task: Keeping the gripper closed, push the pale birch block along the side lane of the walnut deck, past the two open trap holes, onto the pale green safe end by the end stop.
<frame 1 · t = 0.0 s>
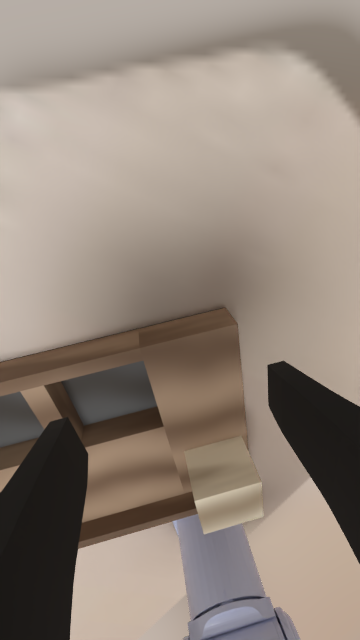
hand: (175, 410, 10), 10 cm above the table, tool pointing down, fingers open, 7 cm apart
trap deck: (79, 437, 23), on the table
birch block: (216, 461, 24), point 2 cm above the table, touching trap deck
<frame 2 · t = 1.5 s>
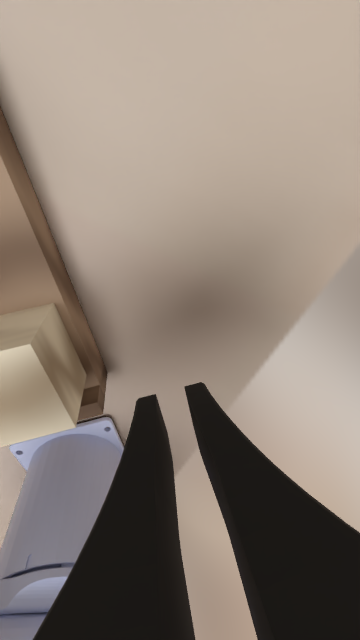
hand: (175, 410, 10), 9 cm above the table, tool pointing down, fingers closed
birch block: (27, 352, 15), point 2 cm above the table, touching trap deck
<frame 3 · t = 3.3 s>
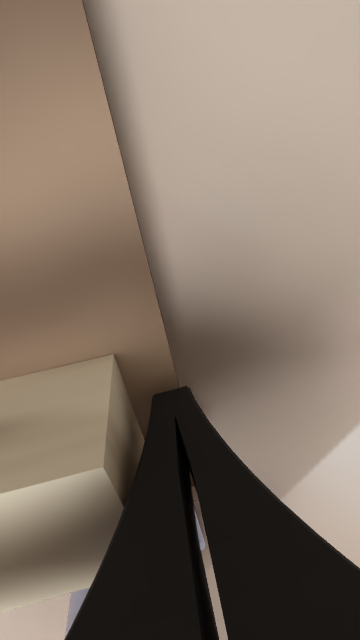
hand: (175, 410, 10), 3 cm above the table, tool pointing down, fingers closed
birch block: (66, 423, 10), point 3 cm above the table, touching gripper
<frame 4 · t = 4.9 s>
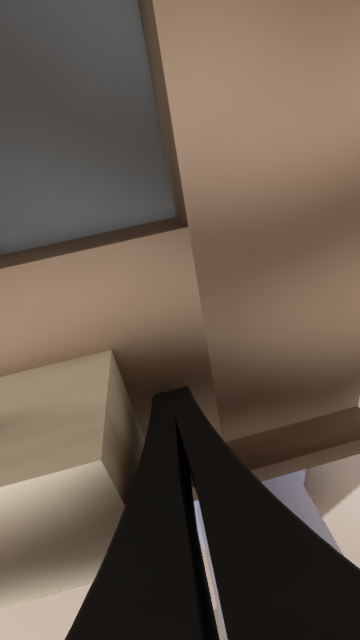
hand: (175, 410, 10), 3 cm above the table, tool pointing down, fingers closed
birch block: (64, 420, 10), point 2 cm above the table, touching gripper, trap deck
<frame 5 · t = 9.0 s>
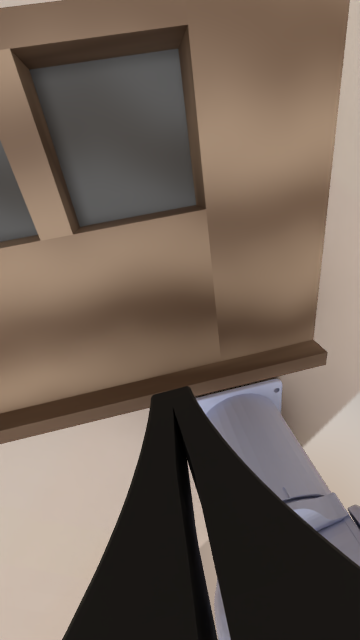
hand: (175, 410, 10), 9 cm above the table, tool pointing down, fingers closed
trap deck: (71, 256, 16), on the table
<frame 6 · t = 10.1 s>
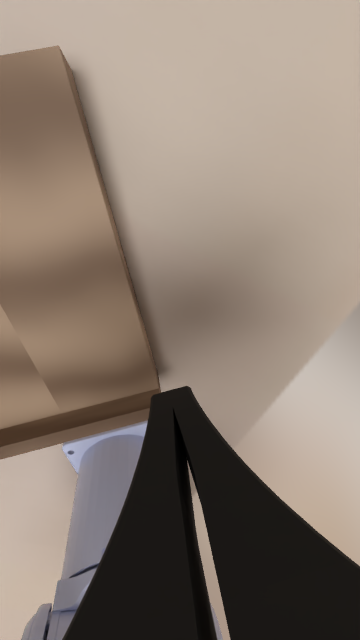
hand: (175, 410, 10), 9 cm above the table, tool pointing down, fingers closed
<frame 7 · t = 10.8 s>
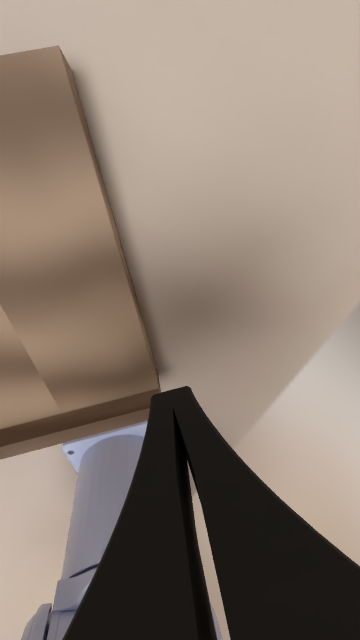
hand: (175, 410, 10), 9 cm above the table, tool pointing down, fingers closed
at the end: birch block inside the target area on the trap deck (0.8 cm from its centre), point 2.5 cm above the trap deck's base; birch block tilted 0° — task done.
